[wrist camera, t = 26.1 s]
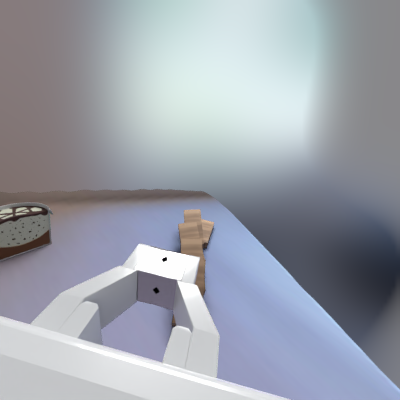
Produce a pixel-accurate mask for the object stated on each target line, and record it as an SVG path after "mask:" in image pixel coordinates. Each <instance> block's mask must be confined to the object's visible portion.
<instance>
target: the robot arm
mask: <svg viewBox="0 0 400 400" xmlns="http://www.w3.org/2000/svg"><path fill="white" fill-rule="evenodd" d="M199 261H200V257H196V256H192V255H186V254H182V253H177V252H173V251H169V250H165V249H161V248H157V247H153V246H148V245H145V244H139V245H138V246H137V247H136V249H135V250H134V251H133V253H132V254H131V255H130V257H129V258H128V259H127V261H126V262H125V263H124V265H123V266H118V267H115V268H113V269H111V270H109V271H107V272H105V273H102V274H100V275H98V276H96V277H94V278H92V279H90V280H87V281H85V282H83V283H81V284H79V285H77V286H75V287H72V288H70V289H68V290H66V291H64V292H62V293H60V294H59V295H58V296H57V297H56V298H55V299H54V300H53V301H52V302H51V303H50V304H49V305H48V306H47V307H46V308H45V310H44V311H43V312H42V313H41V314H40V315H39V316H38V317H37V318H36V319H35V320H34V321H33V322H32V323H31V324H26V323H23V322H19V321H16V320H12V319H9V318H5V317H2V316H0V400H290V399H287V398H283V397H280V396H276V395H273V394H269V393H266V392H262V391H259V390H256V389H252V388H249V387H245V386H242V385H238V384H235V383H231V382H228V381H224V380H221V379H217V365H218V350H219V334H218V331H217V329H216V327H215V325H214V322H213V320H212V318H211V316H210V313H209V311H208V309H207V307H206V304H205V302H204V300H203V298H202V296H201V293H200V291H199V289H198V287H197V285H195V282H196V276H197V271H198V266H199ZM137 301H140V302H145V303H149V304H153V305H157V306H161V307H164V308H167V309H171V310H173V313H174V318H175V322H176V326H175V327H174V328H173V329H172V332H171V336H170V339H169V342H168V345H167V349H166V352H165V355H164V358H163V362H158V361H155V360H151V359H148V358H145V357H141V356H138V355H134V354H131V353H127V352H124V351H120V350H117V349H113V348H110V347H106V346H103V344H102V335H101V329H103V328H104V327H105V326H106V325H108V324H109V323H110V322H112V321H113V320H114V319H115V318H117V317H118V316H119V315H121V314H122V313H123V312H124V311H126V310H127V309H128V308H130V307H131V306H132V305H133V304H135V303H136V302H137Z"/></svg>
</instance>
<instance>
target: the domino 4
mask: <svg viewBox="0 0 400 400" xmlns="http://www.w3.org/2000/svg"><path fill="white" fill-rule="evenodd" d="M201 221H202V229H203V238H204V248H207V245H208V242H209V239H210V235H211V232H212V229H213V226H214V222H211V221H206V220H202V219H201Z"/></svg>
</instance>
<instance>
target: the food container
mask: <svg viewBox="0 0 400 400" xmlns="http://www.w3.org/2000/svg"><path fill="white" fill-rule="evenodd" d="M50 213H51V214H52V215H53V213H52V211H51V209H49V207H48V206H46V205H44V204H40V203H16V204H10V205H5V206H1V207H0V261H2V260H5V259H8V258H11V257H14V256H17V255H20V254H23V253H26V252H29V251H32V250H35V249H38V248H40V247H43V246H46V245H49V244H51V228H50Z"/></svg>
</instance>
